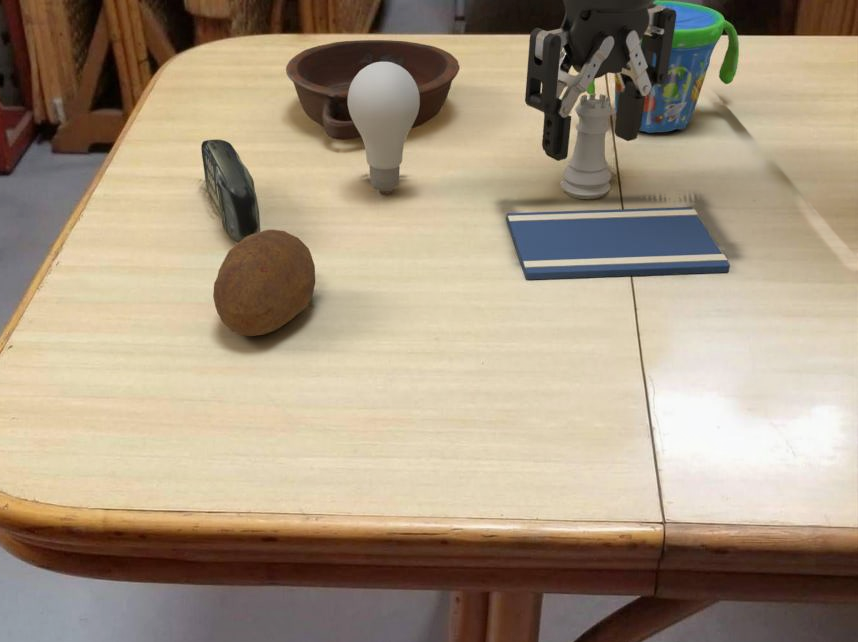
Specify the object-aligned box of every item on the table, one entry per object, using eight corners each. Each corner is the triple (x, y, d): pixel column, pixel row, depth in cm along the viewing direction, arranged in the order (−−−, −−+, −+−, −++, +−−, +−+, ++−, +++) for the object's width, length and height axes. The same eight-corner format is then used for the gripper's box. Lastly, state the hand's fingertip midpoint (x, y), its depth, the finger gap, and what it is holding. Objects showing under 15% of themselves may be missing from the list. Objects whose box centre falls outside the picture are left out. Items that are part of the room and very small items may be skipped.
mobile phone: (194, 136, 93) (231, 198, 82) (228, 132, 94) (269, 193, 83) (201, 192, 96) (238, 259, 85) (234, 187, 97) (275, 253, 86)
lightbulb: (408, 175, 98) (408, 49, 91) (427, 202, 94) (429, 71, 87) (344, 182, 97) (339, 55, 90) (359, 210, 93) (355, 78, 86)
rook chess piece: (559, 199, 94) (568, 106, 89) (560, 179, 98) (569, 88, 92) (610, 202, 94) (622, 108, 88) (610, 181, 97) (621, 90, 92)
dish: (473, 84, 117) (475, 35, 114) (438, 160, 101) (439, 106, 98) (319, 74, 120) (317, 26, 117) (261, 146, 104) (256, 93, 101)
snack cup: (708, 100, 113) (727, -5, 106) (745, 137, 105) (769, 26, 98) (563, 108, 111) (574, 2, 105) (591, 146, 103) (604, 33, 97)
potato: (196, 344, 76) (183, 262, 72) (252, 282, 83) (244, 204, 79) (281, 359, 74) (274, 276, 70) (332, 294, 81) (328, 216, 77)
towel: (690, 213, 92) (692, 205, 92) (728, 272, 84) (730, 264, 83) (506, 219, 91) (506, 211, 91) (526, 280, 83) (526, 271, 83)
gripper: (576, -42, 77) (556, 180, 88) (717, -69, 83) (681, 143, 94) (511, -62, 82) (499, 152, 93) (649, -85, 88) (622, 118, 99)
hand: (591, 147), depth 93 cm, fingers open, 7 cm apart
